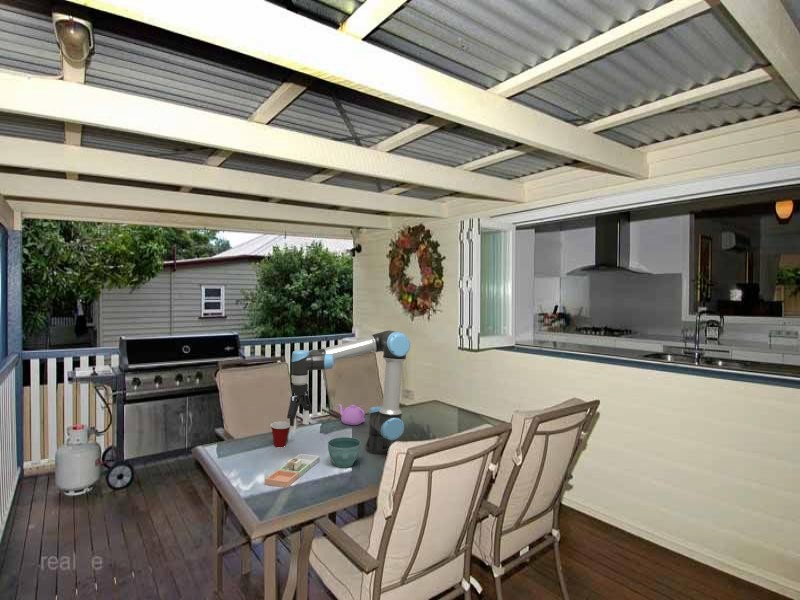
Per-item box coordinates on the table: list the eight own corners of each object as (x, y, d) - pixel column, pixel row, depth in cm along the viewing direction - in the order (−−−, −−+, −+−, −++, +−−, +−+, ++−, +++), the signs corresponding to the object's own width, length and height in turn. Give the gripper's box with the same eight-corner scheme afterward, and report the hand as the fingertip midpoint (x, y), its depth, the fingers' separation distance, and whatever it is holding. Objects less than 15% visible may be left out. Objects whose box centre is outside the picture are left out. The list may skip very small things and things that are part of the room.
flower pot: (346, 473, 211) (346, 450, 211) (320, 465, 219) (320, 443, 219) (366, 463, 224) (367, 441, 224) (341, 456, 233) (341, 435, 233)
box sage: (309, 469, 214) (309, 464, 214) (299, 478, 204) (299, 472, 204) (289, 466, 217) (289, 461, 217) (278, 474, 207) (278, 469, 207)
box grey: (319, 461, 225) (319, 456, 225) (310, 469, 215) (310, 463, 215) (300, 458, 228) (300, 453, 228) (289, 466, 217) (290, 461, 217)
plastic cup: (278, 451, 238) (278, 428, 238) (265, 446, 244) (266, 424, 244) (294, 445, 246) (295, 423, 246) (282, 441, 253) (282, 420, 253)
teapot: (369, 422, 295) (370, 404, 295) (360, 428, 282) (360, 409, 282) (342, 418, 302) (343, 401, 302) (332, 423, 290) (332, 405, 290)
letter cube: (301, 470, 212) (301, 459, 212) (296, 474, 207) (296, 463, 207) (291, 468, 214) (291, 457, 213) (286, 472, 209) (286, 461, 209)
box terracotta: (298, 478, 204) (298, 472, 204) (286, 487, 193) (287, 482, 193) (277, 475, 206) (277, 469, 206) (264, 484, 196) (265, 478, 196)
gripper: (304, 378, 227) (303, 420, 227) (279, 388, 202) (279, 435, 203) (318, 378, 225) (317, 421, 225) (294, 389, 201) (294, 437, 201)
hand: (299, 428), depth 214 cm, fingers open, 13 cm apart
